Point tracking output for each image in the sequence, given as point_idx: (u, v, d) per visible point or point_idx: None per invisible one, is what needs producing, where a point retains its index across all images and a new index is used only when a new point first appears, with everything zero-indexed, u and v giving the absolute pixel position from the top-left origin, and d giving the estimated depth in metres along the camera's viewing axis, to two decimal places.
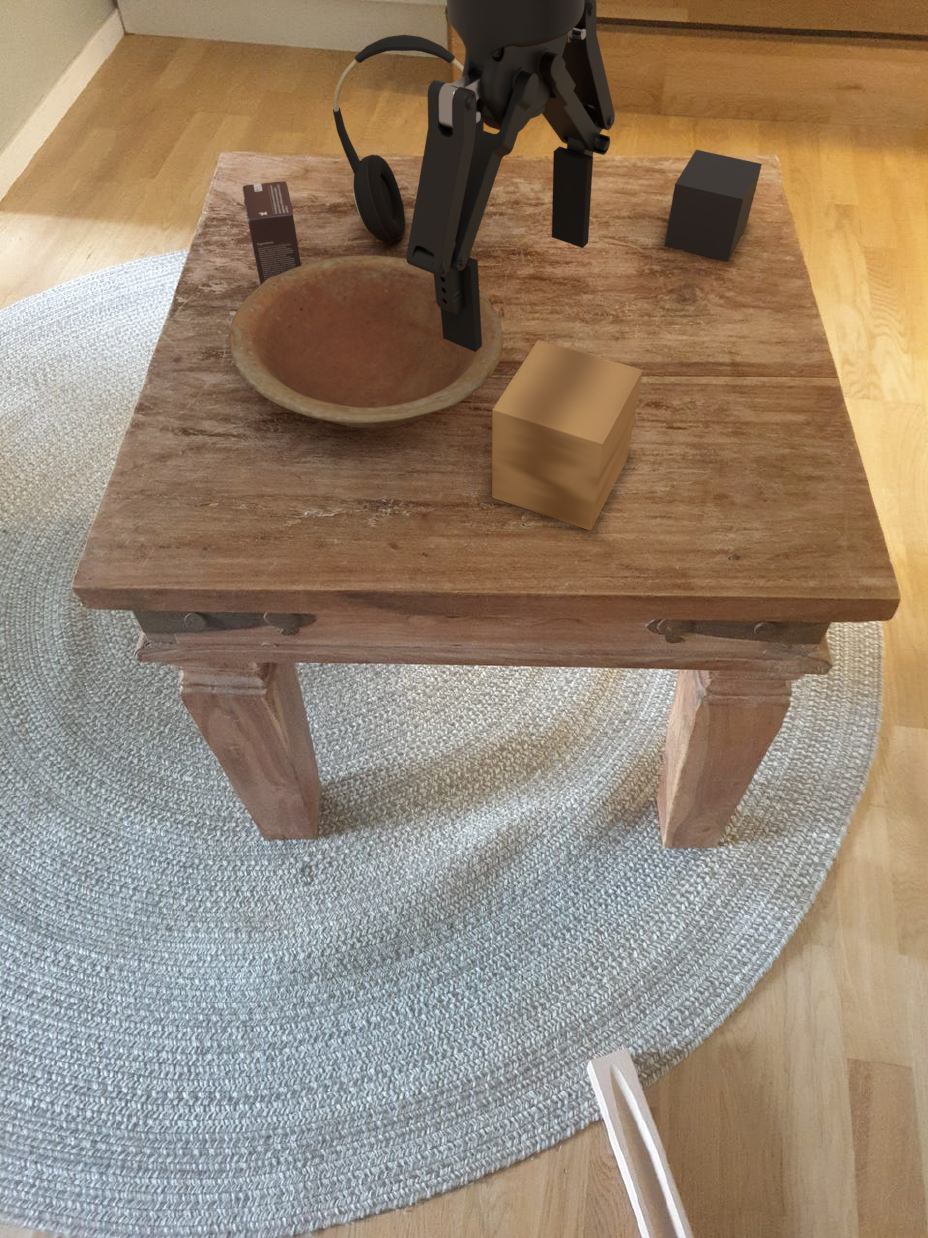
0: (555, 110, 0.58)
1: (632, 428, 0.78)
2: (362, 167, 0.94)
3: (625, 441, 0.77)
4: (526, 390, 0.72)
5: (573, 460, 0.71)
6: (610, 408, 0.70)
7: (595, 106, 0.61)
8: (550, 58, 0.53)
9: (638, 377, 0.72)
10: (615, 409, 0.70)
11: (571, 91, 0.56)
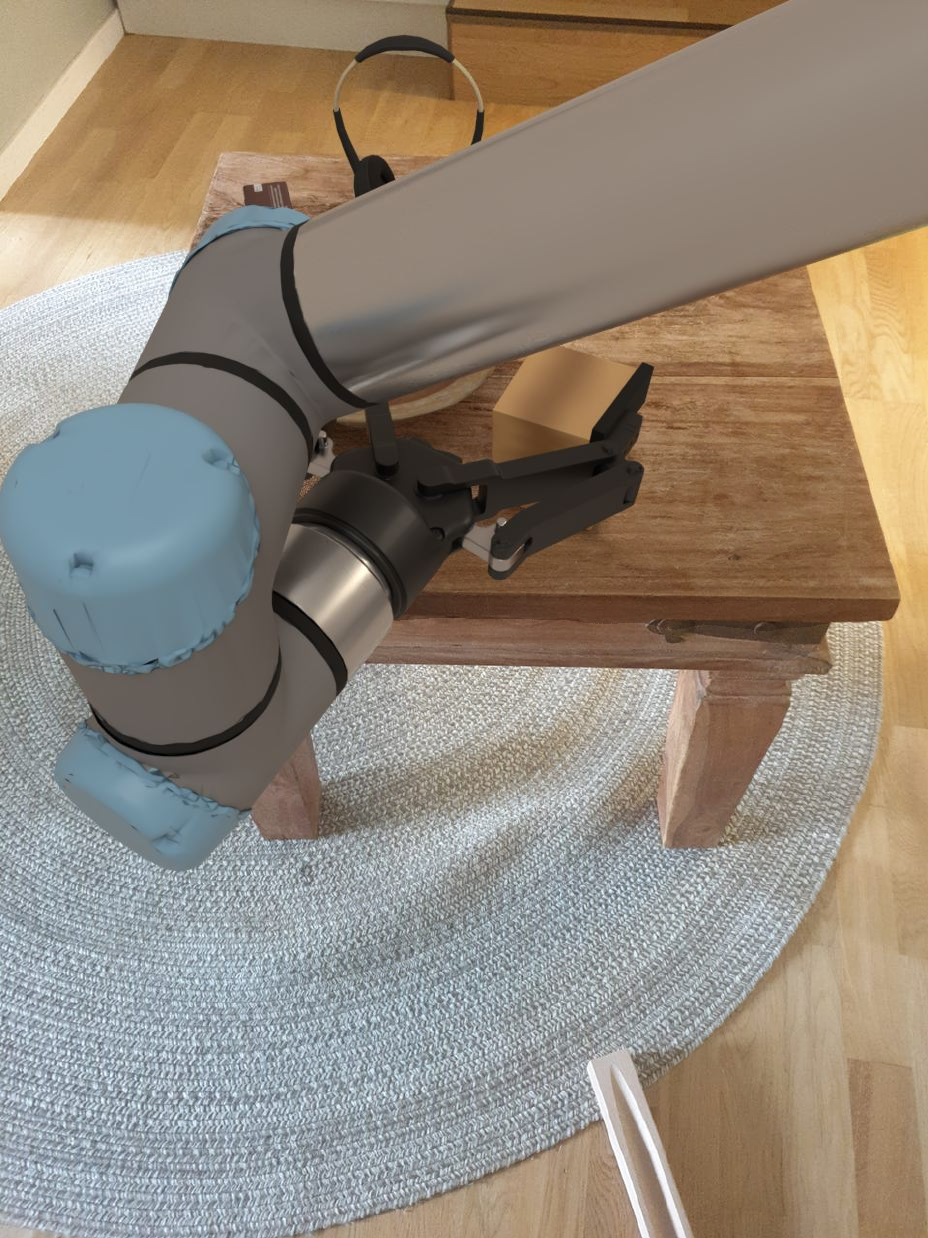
0: None
1: None
2: (362, 167, 0.94)
3: None
4: (526, 390, 0.72)
5: None
6: None
7: None
8: (386, 468, 0.47)
9: None
10: None
11: (378, 416, 0.49)
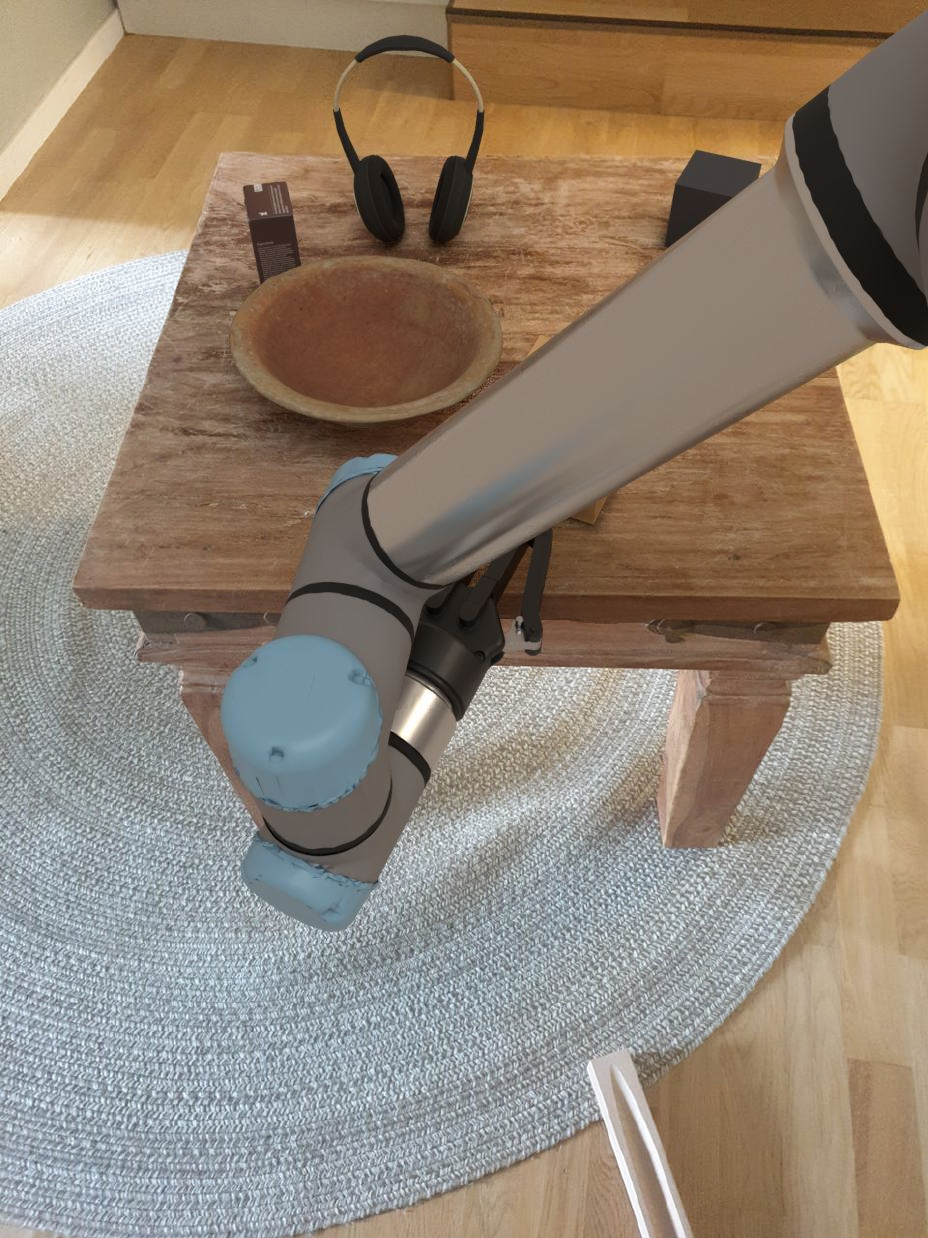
0: None
1: None
2: (362, 167, 0.94)
3: None
4: None
5: None
6: None
7: None
8: (429, 608, 0.63)
9: None
10: None
11: None
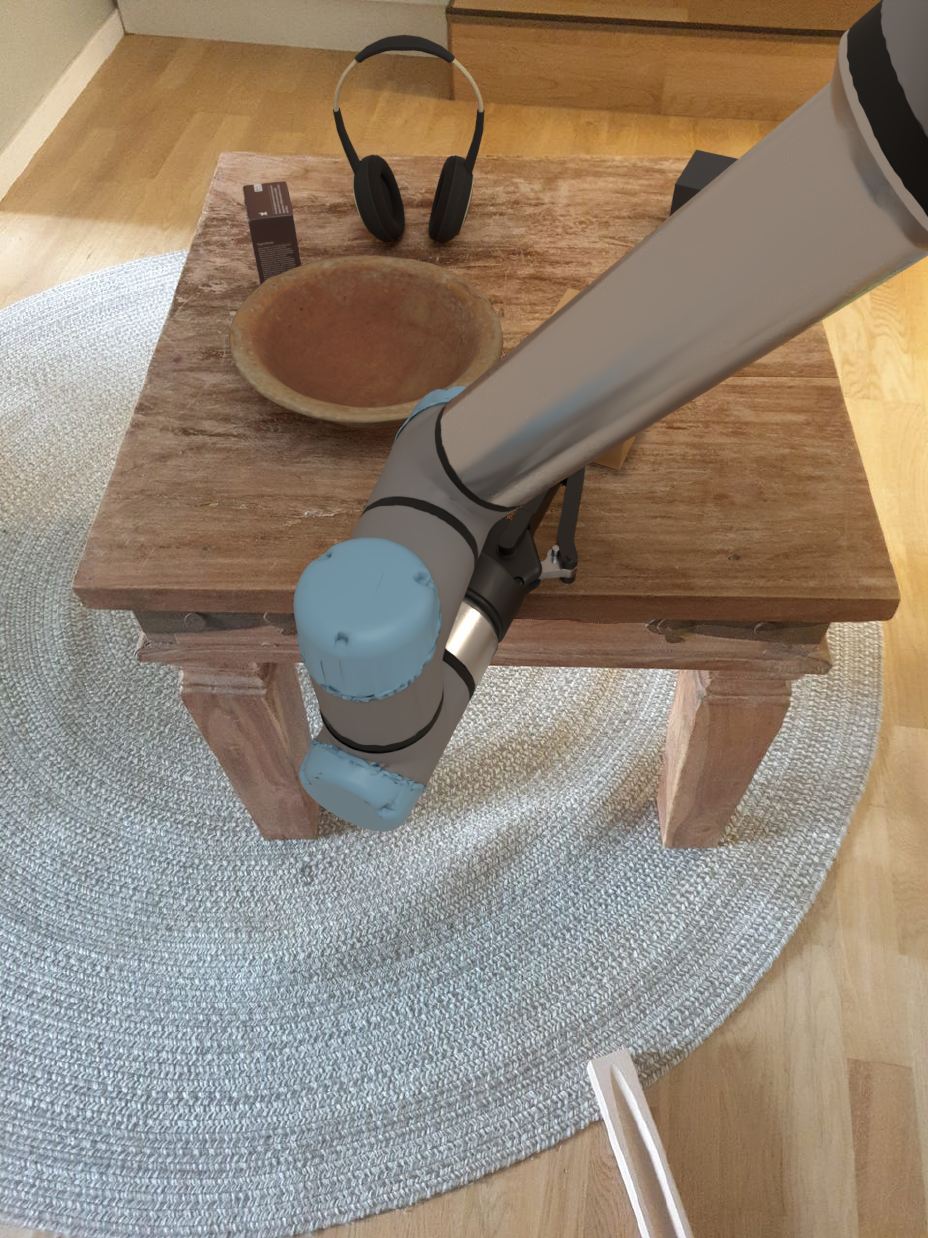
0: None
1: None
2: (362, 167, 0.94)
3: None
4: None
5: None
6: None
7: None
8: None
9: None
10: None
11: None
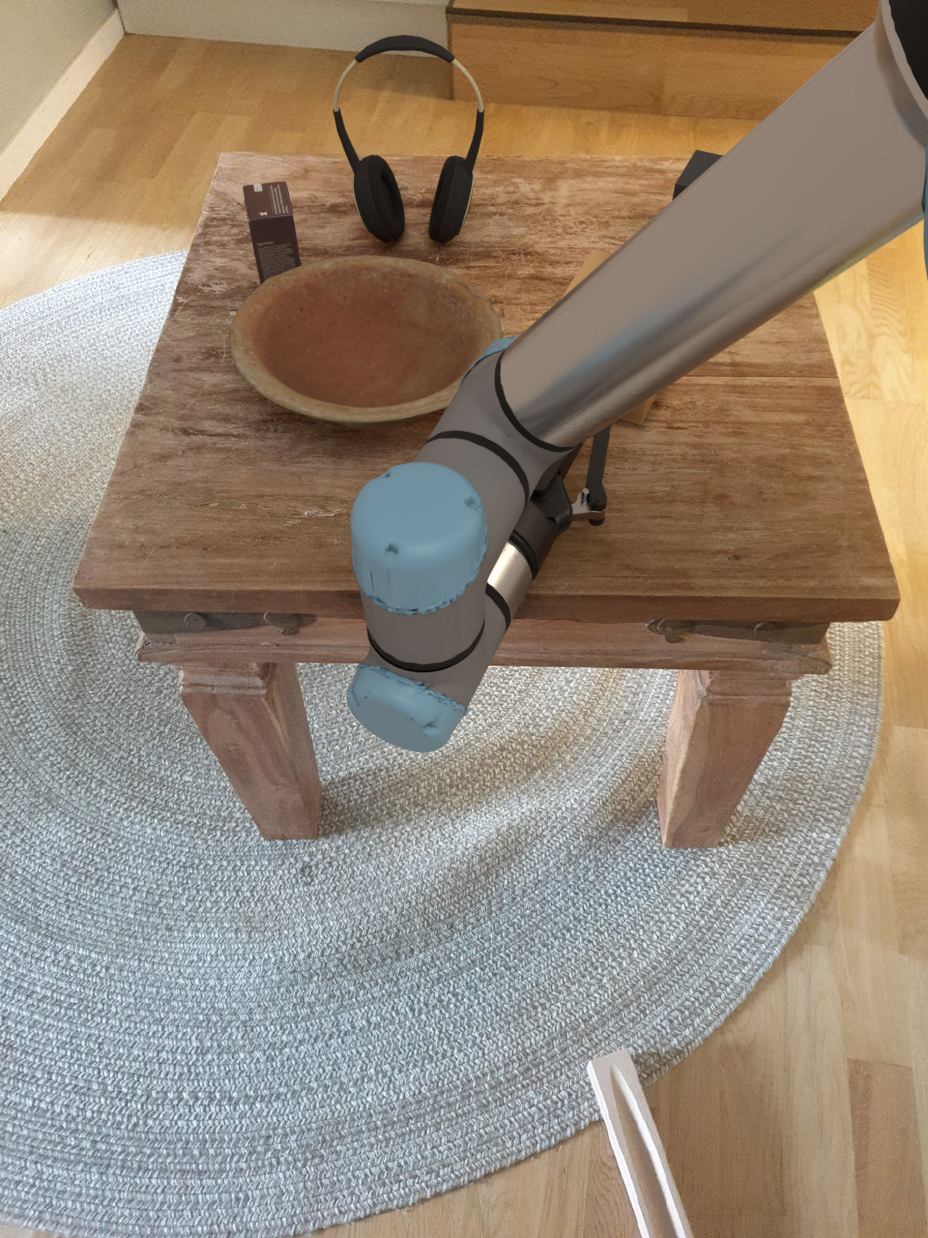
0: None
1: None
2: (362, 167, 0.94)
3: None
4: None
5: None
6: None
7: None
8: None
9: None
10: None
11: None
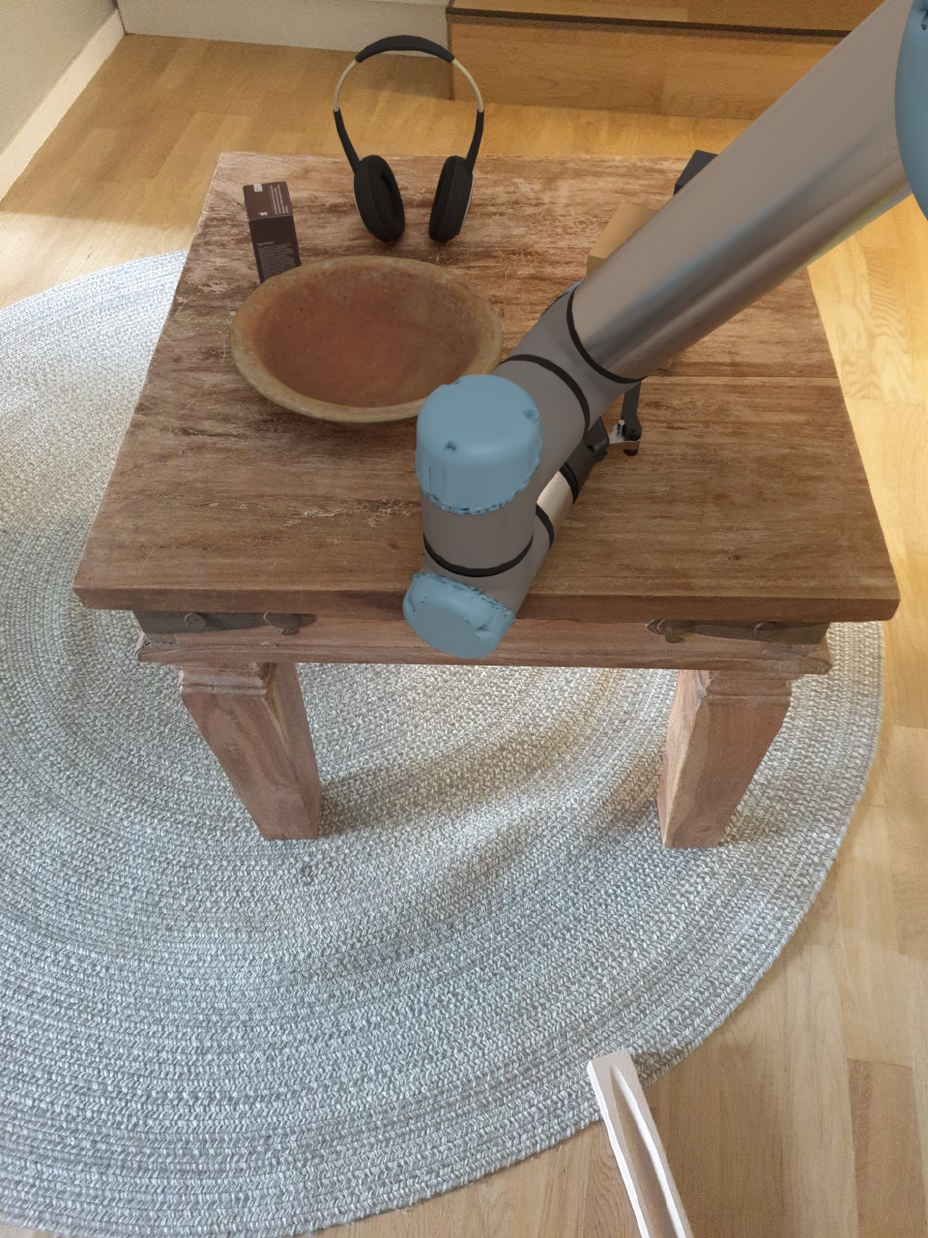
0: None
1: None
2: (362, 167, 0.94)
3: None
4: (616, 239, 0.83)
5: None
6: None
7: None
8: None
9: None
10: None
11: None
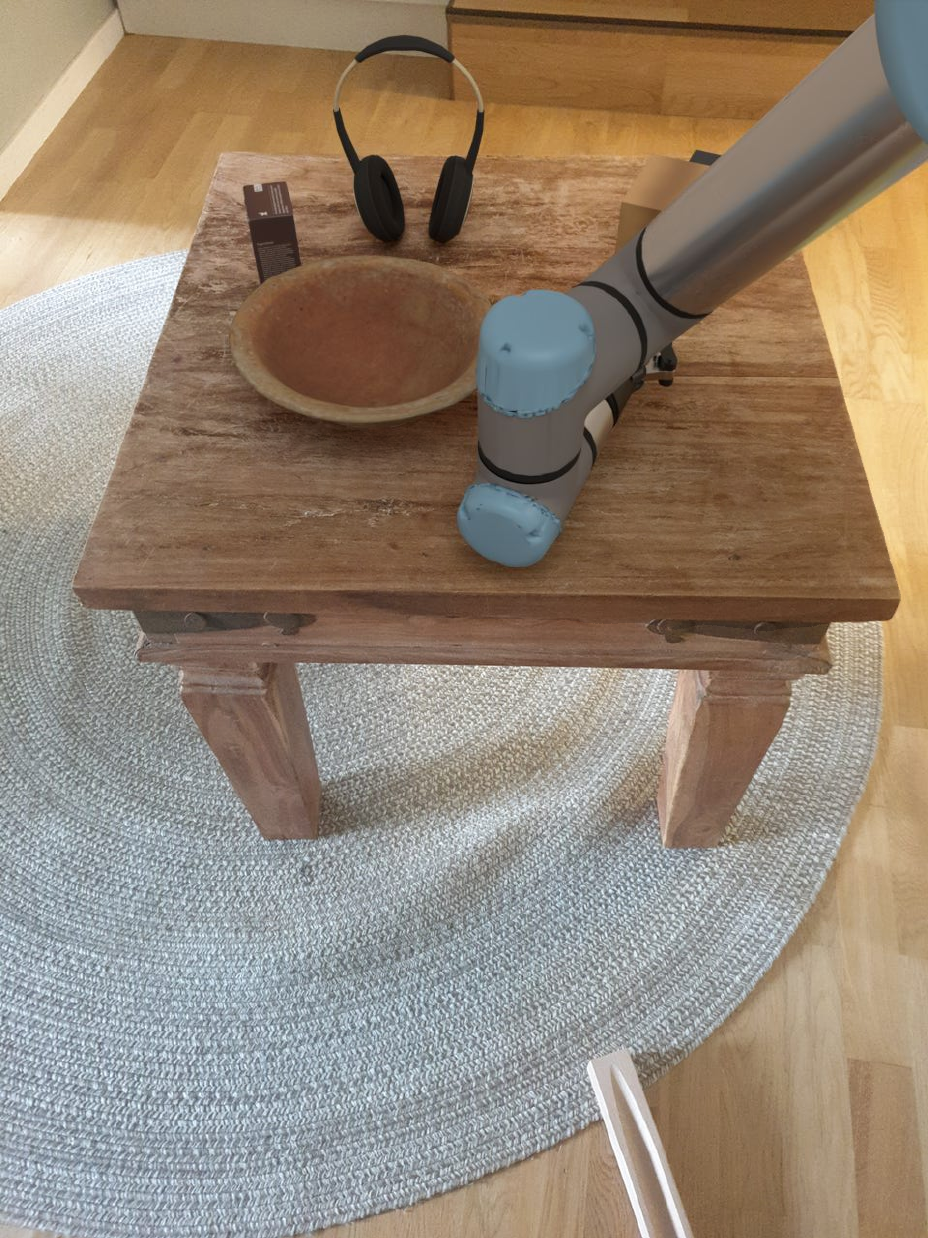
0: None
1: None
2: (362, 167, 0.94)
3: None
4: (647, 187, 0.87)
5: None
6: None
7: None
8: None
9: None
10: None
11: None
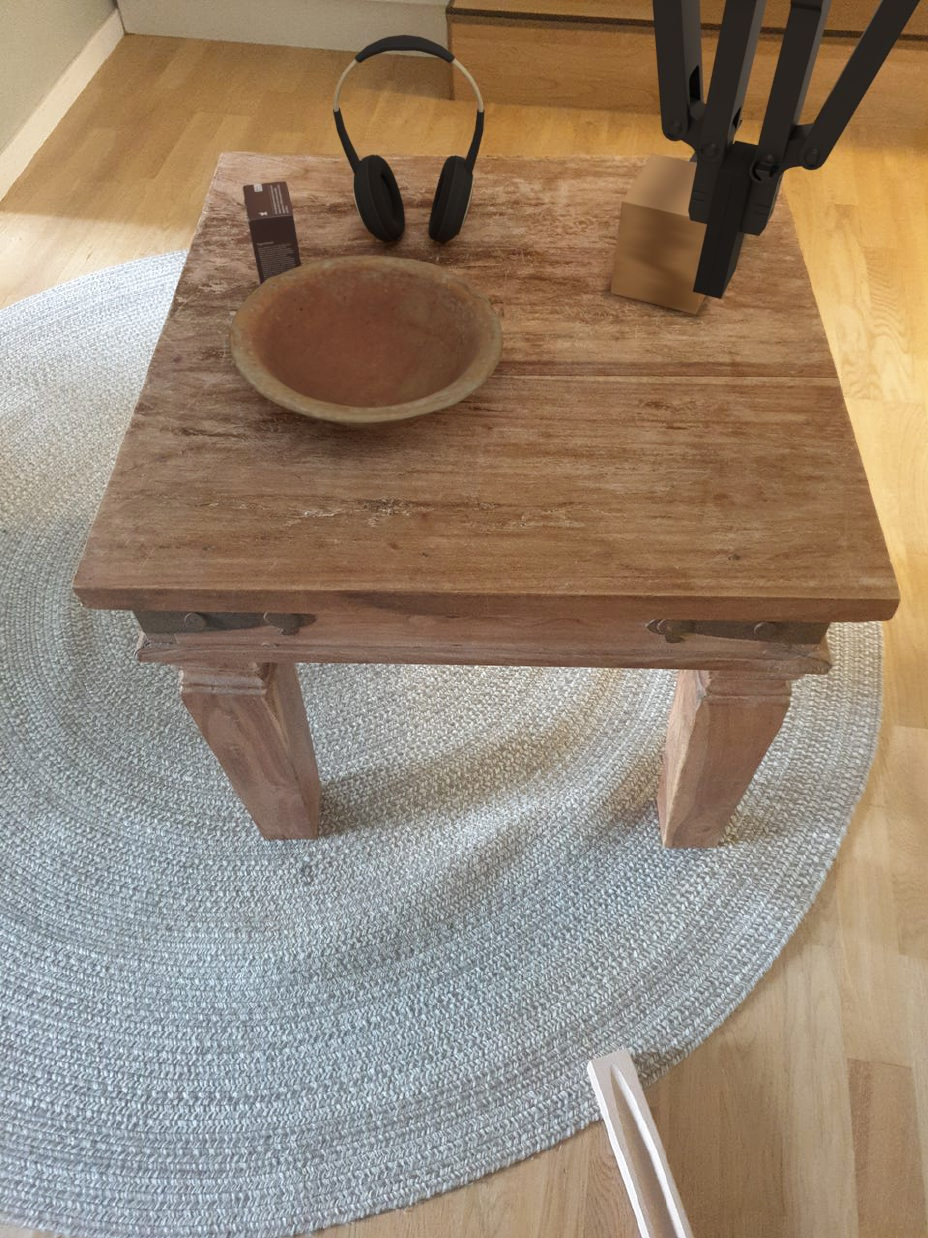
0: None
1: None
2: (362, 167, 0.94)
3: None
4: (648, 187, 0.87)
5: (688, 243, 0.86)
6: None
7: (824, 105, 0.39)
8: None
9: None
10: None
11: None
